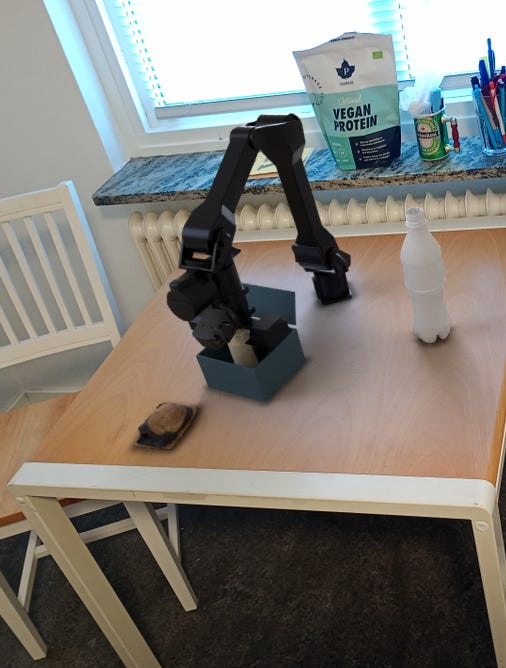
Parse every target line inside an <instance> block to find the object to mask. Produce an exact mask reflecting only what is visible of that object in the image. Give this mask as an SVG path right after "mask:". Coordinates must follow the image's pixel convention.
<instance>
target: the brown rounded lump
mask: <svg viewBox="0 0 506 668" xmlns="http://www.w3.org/2000/svg"><path fill="white" fill-rule="evenodd" d="M198 410H199V408H198V406H196V405H192V404H179V403H173V402H164V403H159V404H158V406H156V407H155V410H154V411H153V412H152V414H151V415H149V416H148V417H147V418H146V419H145V421H144V422H143V423H142V424H140V425H139V426H138V429H137V430H138V433H139V436H138V437H137V439H136V441H135V443H134V446H135V447H136V448H139V449H140V448H142V449H148V450H150V449H154V450H169V451H170V450H172V449H173V448H174V447H175V445H176V444H178V441H180V438H182V437H183V435H184V433H185V431H186V430H187V429H188V428H189V426H190V425H191V423H192V421H193V420H194V418H195V416H196V415H197V413H198Z"/></svg>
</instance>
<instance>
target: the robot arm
mask: <svg viewBox="0 0 506 668" xmlns="http://www.w3.org/2000/svg"><path fill="white" fill-rule="evenodd" d="M228 138H229V139H228V140H229V142H228V145H227V146H226V149H225V152H224V155H223V156H222V159H221V162H220V164H219V166H218V169H217V172H216V173H215V176H214V177H213V178H214V179H213V181H212V184H211V185H210V188H209V190H208V193H207V196H206V197H205V199H204V200H203V202H201V203H200V204H199V205H198V206H196V207H195V208H194V209H193V210H192V211H191V213H190V215H189V216H188V218H187V220H186V221H185V223H184V224H183V227H182V230H181V234H180V235H181V242H180V249H179V257H178V258H179V259H178V266H177V268H178V269H179V270H185V272H183V273H182V274H181V275H180V276H178V277H177V278H175V279H173V280H172V281H170V282H169V283H168V287H169V289H170V290H169V291H168V292H167V293H166V300H165V301H166V302H165V303H166V305H167V307H168V309H169V310H170V312H171V313H172V314H173V315H174V316H175V317H177V318H178V319H179V320H181V321H183V322H188V325H189V328H190V330H191V331H192V332H191V335H192V337H193V338H194V339H195V340H196V341H197V342H198V343H199V345H200V346H201V347H204V348H205V347H209V348H213V349H215V350H219V349H221V348H222V347H223V346H225V347H226V349H227V350H228V351H229V352H230V353H231V351H230V349H229V346H228V343H230V342H231V340H232V338H233V337H234V335H235V333H236V331H237V330H241V331H243V330H244V329H246V330H250V333H249V336H250V338H249V339H248V340H247V341H246V342H245V344H247V345H251V346H252V348H253V351H254V353H255V356H256V358H257V360H258V362H259V363H260V362H261V361H262V360H263V359H264V358H265V357H266V356H267V352H268V347H269V346H272V345H273V344H274V343H275V342H276V341H277V340H278V339H279V338H280V337H281V336H282V335H283V334H284V333H285V332H286V331H287V330H288V329H289V327H290V326H289V324H288V323H287V320H286V318H285V317H282V316H278V315H273V314H268V313H266V314H265V315H264V316H263V317H262V318H256V317H252V316H251V315H252V314H253V313H255V312H256V310H255V307H254V306H249V305H248V302H247V299H246V296H245V295H246V294H247V293H248V292H249V288H248V286H243V285H242V284H241V282H242V281H241V278H240V274H239V272H238V269H237V266H236V263H235V260H234V259H235V257H237V256H238V255H239V254H241V252H242V249H241V248H240V247H236V246H233V244H234V240H235V235H236V232H237V222H236V221H237V220H236V216H235V214H236V210H237V207H238V204H239V202H240V200H241V197H242V195H243V192H244V189H245V187H246V184H247V182H248V180H249V177H250V175H251V172H252V170H253V167H254V165H255V162H256V160H257V157H258V155H259V152H260V151H261V153H262V155H263V156H265V158H267V160H268V161H269V162H271V163H272V165H274V167H275V169H276V173H277V175H278V178H279V181H280V183H281V187H282V190H283V193H284V196H285V198H286V201H287V205H288V208H289V210H290V214H291V216H292V217H291V218H292V220H293V222H294V225H295V229H296V232H297V234H296V238H295V241H294V243H293V244H292V245H291V246H290V247H291V251H292V253H293V255H294V262H295V263H298V265H299V266H300V267H302V270H304V272H305V273H312V275H313V276H311V281H312V286H313V289H314V293H315V297H316V299H317V300H319V301H320V303H321V305H322V306H325V305H329V304H333V303H336V302H339V301H343V300H347V299H350V298H352V297H353V293H352V292H351V289H350V286H349V282H348V277H347V274H346V273H348V272H349V271H350V270H349V268H350V267H351V266H352V256H351V254H350V253H348V252H346V251H344V250H342V249H340V247H339V245H338V243H337V240H336V238H335V236H334V235H333V234H332V233H331V231H329V229H327V228H326V227H325V226H324V224H323V223H322V220H321V216H320V213H319V210H318V206H317V203H316V200H315V196H314V193H313V190H312V187H311V184H310V181H309V177H308V174H307V171H306V168H305V164H304V162H303V154H304V150H305V146H306V142H307V141H306V136H305V131H304V126H303V122H302V120H301V118H300V116H299V115H297V114H295V113H293V112H287V113H286V112H263V113H261V114H259V115H258V116H257V118H256V120H252V121H247V122H244V123H243V124H242V125H239V126H236V127H234V128H232V129H231V131H230V132H229V135H228ZM194 255H204V256H207V257H206V258H200V257H194Z"/></svg>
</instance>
